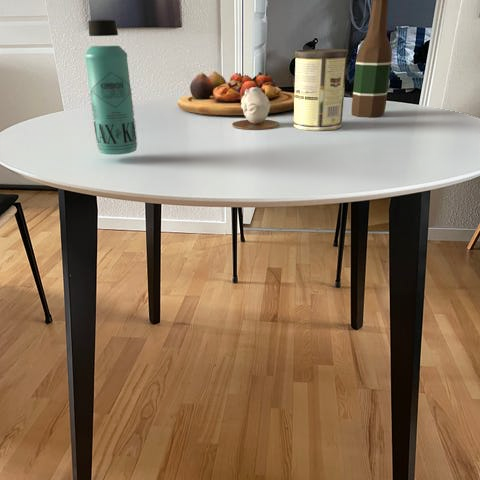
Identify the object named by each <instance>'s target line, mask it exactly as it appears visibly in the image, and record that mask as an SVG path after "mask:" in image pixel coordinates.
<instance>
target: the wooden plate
mask: <svg viewBox="0 0 480 480" xmlns="http://www.w3.org/2000/svg"><path fill="white" fill-rule="evenodd" d="M251 87H252V88H253V87H257V88H260V89H261V90H262V92H263V93H264V94H265V95H266V96H267V97H268V100H269V102H270V108H269V112H268V114H275V113H282V112H288V111H292V110H294V95H295V94H294V93H295V92H289V91H282V89H281V88H279V87H278V86H276V82H274V81H273V78H272V76H271V75H270V74H267V73H266V74H263V73H262V72H261V71H259V72H258V74H257V75H254V77H250V76H249V75H246V74H243V75H242V73H240V72H239V73H238V72H235V73H234V74H232V75H231V76H230V79H229V81H226V79H225V77H224V76H223V75H222V74H220V73H218V72H217V71H213V72H212V73H211V74H209V75H208V76H207V74H205V73H204V72H200V73H198V74H197V75H196V76H195V77H194V78H193V79H192V80H191V82H190V85H189V90H190V94H188V95H184V96H181V97H180V98H179V99H178V101H177V106H178V108H179V109H180V110H181V111H184V112H188V113H194V114H201V115H212V116H213V115H214V116H215V115H216V116H245V115H244V112H243V109H242V107H241V105H242V104H241V100H242V97H243V96H244V95H245V91H246V89H250V88H251Z"/></svg>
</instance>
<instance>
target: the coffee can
mask: <svg viewBox="0 0 480 480" xmlns="http://www.w3.org/2000/svg"><path fill="white" fill-rule="evenodd" d="M348 55H349V50H348V49H342V48H341V49H340V48H315V49H313V48H312V49H300V50H296V51H295V52H294V56H295V67H294V92H293V93H294V94H295V95H294V109H293V123H292V124H293V128H295V129H297V130H302V131H313V132H314V131H315V132H316V131H319V132H320V131H321V132H323V131H324V132H325V131H332V130H339V129H340V128H342V125H343V124H342V123H343V114H344V113H343V111H344V98H345V88H346V87H345V85H346V75H347V73H346V72H347V63H348V62H347V61H348Z"/></svg>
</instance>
